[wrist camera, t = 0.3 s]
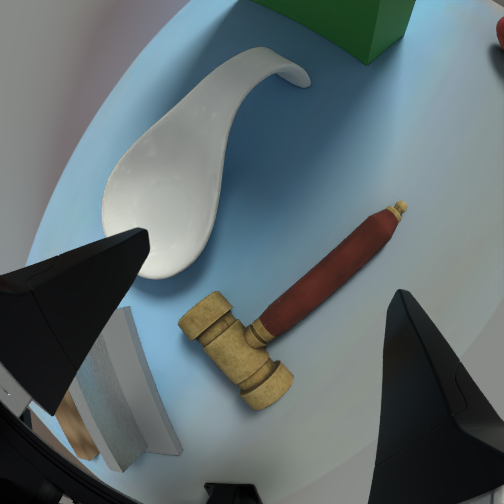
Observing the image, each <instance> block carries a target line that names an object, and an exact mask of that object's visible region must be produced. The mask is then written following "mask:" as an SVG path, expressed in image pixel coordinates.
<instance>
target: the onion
mask: <svg viewBox="0 0 504 504" xmlns="http://www.w3.org/2000/svg"><path fill="white" fill-rule="evenodd" d="M496 32H497V37H498V40H499V43H500V45H501V46H502V49H503V51H504V17H502V18H501V19H500V20H499V21H498V23H497V26H496Z"/></svg>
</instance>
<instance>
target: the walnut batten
mask: <svg viewBox="0 0 504 504" xmlns="http://www.w3.org/2000/svg"><path fill="white" fill-rule="evenodd" d="M55 416H56V418H57V420H58V422H59V424H60V426H61V428H62V430H63V432H64V434H65V436H66V437H67V439H68V441H69V443H70V445H71V446H72V448H73V450H74V452H75V453H76V455H77V457H79V458H82V459H85V460H88V461H90V460H91V459H93V458H94V457H95V456H96V455H97V454H99V453H100V452H99V450H98V449H97V447H96V445H95V443H94V441H93V440H92V438H91V436H90V434H89V432H88V430H87V428H86V426H85V424H84V422H83V420H82V418H81V416H80V414H79V412H78V410H77V407H76V405H75V403H74V401H73V399H72V396H71V394H70V392H69V389H68V390H67V392H66V394H65V396H64V398H63V400H62V401H61V403H60V405H59V407H58V409H57V411H56V413H55Z"/></svg>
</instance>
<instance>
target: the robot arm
mask: <svg viewBox="0 0 504 504" xmlns="http://www.w3.org/2000/svg"><path fill="white" fill-rule="evenodd" d="M149 253H150V241H149V233H148V230H147V229H144V228H140V227H136V228H133V229H130V230H127V231H124V232H121V233H118V234H115V235H112V236H109V237H107V238H104V239H101V240H98V241H95V242H92V243H90V244H87V245H84V246H81V247H79V248H76V249H73V250H71V251H68V252H65V253H63V254H60V255H59V256H58V255H57V256H55V257H52V258H50V259H47V260H44V261H42V262H39V263H36V264H33V265H30V266H27V267H24V268H21V269H18V270H16V271H13V272H10V273H7V274H3V275H0V504H60V503H59V501H60V500H61V497H62V496H65V497H67V498H69V499H71V500H73V503H74V504H143V503H141V502H139V501H137V500H135V499H133V498H131V497H129V496H127V495H125V494H123V493H121V492H120V491H118V490H116V489H114V488H112V487H111V486H109V485H107V484H106V483H104V482H102V481H101V480H99V479H97V478H96V477H94V476H93V475H91V474H89V473H88V472H86V471H85V470H83V469H82V468H80V467H79V466H77V465H76V464H74V463H73V462H71V461H70V460H69V459H68V458H66V457H65V456H63V455H62V454H61V453H60V452H58V451H57V450H55V449H54V448H53V447H52V446H50V445H49V444H48V443H47V442H45V441H44V440H43V439H42V438H41V437H40V436H38V435H37V434H36V433H35V432H34V431H33V430H32V423H31V414H30V410H29V409H28V408H27V407H28V405H29V404H30V402H31V401H34V402H35V403H36V404H37V405H38V406H40V407H41V408H42V409H43V410H44V411H46V412H47V413H48V414H50V415H51V416H52V417H53V416H54V415H55V413H56V411H57V409H58V407H59V405H60V403H61V401H62V400H63V398H64V396H65V394H66V392H67V390H68V388H69V387H70V385H71V383H72V381H73V379H74V378H75V376H76V374H77V371H78V370H79V369H80V367H81V365H82V363H83V362H84V360H85V358H86V356H87V355H88V353H89V351H90V350H91V348H92V346H93V345H94V343H95V341H96V340H97V338H98V337H99V335H100V333H101V332H102V330H103V329H104V327H105V325H106V324H107V322H108V321H109V319H110V317H111V316H112V314H113V313H114V311H115V310H116V308H117V307H118V305H119V304H120V302H121V301H122V299H123V298H124V296H125V295H126V293H127V292H128V290H129V289H130V287H131V285H132V284H133V282H134V280H135V279H136V277H137V275H138V273H139V271H140V269H141V268H142V266H143V264H144V262H145V260H146V259H147V257H148V255H149ZM204 488H205V489H206V491H207V493H208V495H209V498H208V500H207V502H206V504H263V503H262V501H261V499H260V497H259V494H258V492H257V490H256V487H255V486H254V485H252V484H218V483H205V485H204ZM368 504H504V421H503V420H502V419H501V418H500V417H499V415H498V414H497V413H496V411H495V410H494V408H493V407H492V405H491V404H490V403H489V401H488V400H487V399H486V397H485V396H484V394H483V393H482V392H481V391H480V389H479V387H478V386H477V385H476V383H475V382H474V381H473V379H472V378H471V376H470V375H469V373H468V372H467V370H466V369H465V367H464V366H463V364H462V363H461V362H460V360H459V358H458V357H457V355H456V354H455V352H454V351H453V349H452V348H451V347H450V345H449V344H448V342H447V341H446V339H445V338H444V337H443V335H442V334H441V332H440V331H439V330H438V328H437V327H436V326H435V324H434V323H433V322H432V320H431V319H430V318H429V316H428V315H427V314H426V312H425V311H424V310H423V308H422V307H421V306H420V304H419V303H418V302H417V301H416V299H415V298H414V297H413V295H412V294H411V293H410V292H409V291H407V290H402V289H398V290H397V291H396V293H395V295H394V297H393V299H392V300H391V302H390V304H389V306H388V309H387V316H386V328H385V338H384V347H383V377H382V399H381V414H380V426H379V436H378V445H377V453H376V460H375V468H374V473H373V479H372V485H371V490H370V496H369V500H368Z"/></svg>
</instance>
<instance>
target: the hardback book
mask: <svg viewBox="0 0 504 504" xmlns="http://www.w3.org/2000/svg"><path fill="white" fill-rule="evenodd" d="M251 1H253V2H256V3H258V4H260V5H263V6H265V7H267V8H269V9H271V10H274V11H276V12H278V13H280V14H282V15H284V16H286V17H288V18H290V19H292V20H294V21H296V22H298V23H299V24H301V25H303V26H305V27H307V28H309V29H310V30H312V31H314V32H316V33H317V34H319V35H321V36H322V37H324V38H326V39H327V40H329V41H331V42H332V43H334V44H335V45H337V46H339V47H340V48H342V49H343V50H345V51H346V52H348V53H349V54H351V55H352V56H354V57H355V58H356V59H358V60H359V61H361V62H362V63H364V64H365V65H366V66H367V65H368V64H370V63H371V62H372V61H373V60H374V59H375V58H377V57H378V56H379V55H380V54H381V53H383V52H384V51H385V50H386V49H387V48H388V47H390V46H391V45H392V44H393V43H394V42H396V41H397V40H398V39H399V38H401V37H402V36H403V35H404V34H405V31H406V28H407V25H408V22H409V19H410V16H411V13H412V10H413V7H414V4H415V1H416V0H251Z"/></svg>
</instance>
